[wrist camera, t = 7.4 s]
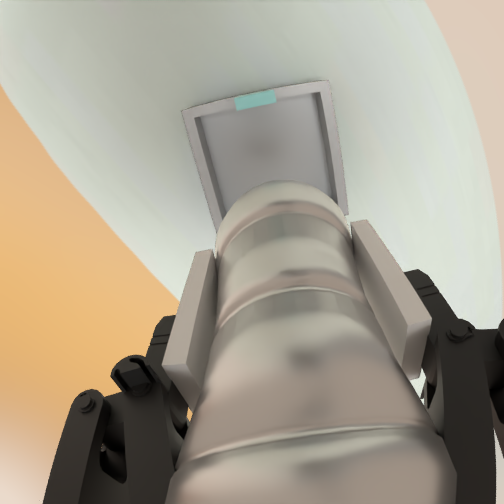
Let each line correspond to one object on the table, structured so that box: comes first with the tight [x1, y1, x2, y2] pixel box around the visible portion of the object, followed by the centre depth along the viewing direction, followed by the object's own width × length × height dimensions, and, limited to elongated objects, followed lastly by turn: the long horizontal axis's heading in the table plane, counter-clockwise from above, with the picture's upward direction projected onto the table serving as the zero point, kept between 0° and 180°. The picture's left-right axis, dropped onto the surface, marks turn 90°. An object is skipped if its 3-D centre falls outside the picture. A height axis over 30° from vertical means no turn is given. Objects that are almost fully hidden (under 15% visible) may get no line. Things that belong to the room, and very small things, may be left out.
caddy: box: [181, 80, 349, 233], centre depth 29 cm, size 14×14×10 cm
